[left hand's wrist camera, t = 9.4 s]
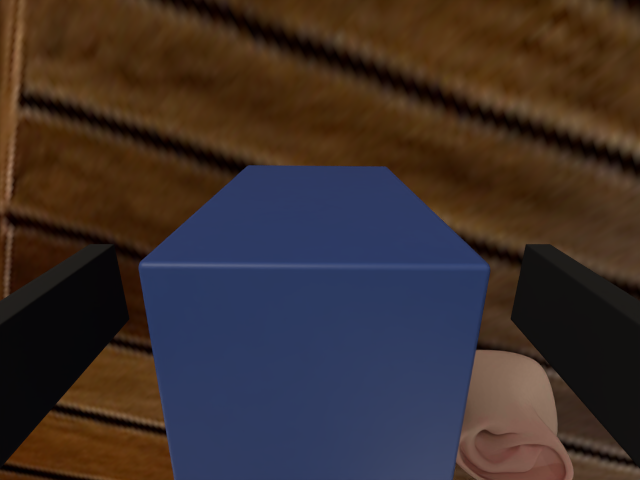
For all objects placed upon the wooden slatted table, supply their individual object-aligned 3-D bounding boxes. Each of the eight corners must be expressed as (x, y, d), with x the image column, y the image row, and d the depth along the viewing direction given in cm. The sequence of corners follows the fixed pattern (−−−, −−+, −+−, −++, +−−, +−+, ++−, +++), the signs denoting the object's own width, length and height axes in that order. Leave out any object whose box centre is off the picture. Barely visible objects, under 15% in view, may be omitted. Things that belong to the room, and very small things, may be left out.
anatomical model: (430, 393, 27) (591, 365, 27) (416, 358, 31) (558, 333, 31) (446, 514, 32) (584, 493, 31) (432, 471, 36) (555, 452, 35)
